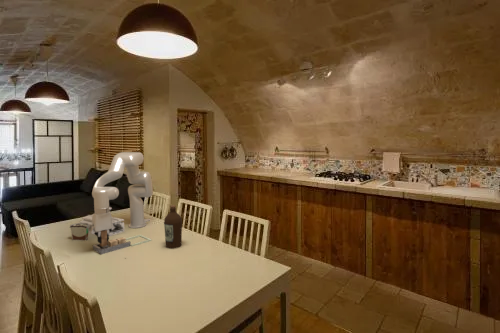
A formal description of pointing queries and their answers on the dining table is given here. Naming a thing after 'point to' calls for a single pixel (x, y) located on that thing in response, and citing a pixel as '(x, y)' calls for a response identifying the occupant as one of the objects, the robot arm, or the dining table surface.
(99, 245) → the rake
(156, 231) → the dining table surface
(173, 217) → the olive oil
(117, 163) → the robot arm
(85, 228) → the food container
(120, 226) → the aluminum extrusion profile
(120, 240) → the block
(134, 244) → the tray
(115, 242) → the block
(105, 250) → the channel
